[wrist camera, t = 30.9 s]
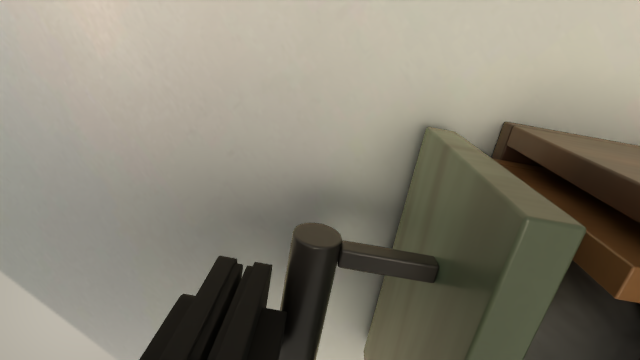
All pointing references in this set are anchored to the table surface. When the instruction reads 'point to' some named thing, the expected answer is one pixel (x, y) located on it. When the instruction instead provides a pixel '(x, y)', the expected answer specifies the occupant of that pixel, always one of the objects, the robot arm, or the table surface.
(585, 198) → the drawer
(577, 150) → the cabinet
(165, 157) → the table surface
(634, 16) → the table surface
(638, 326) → the garlic
